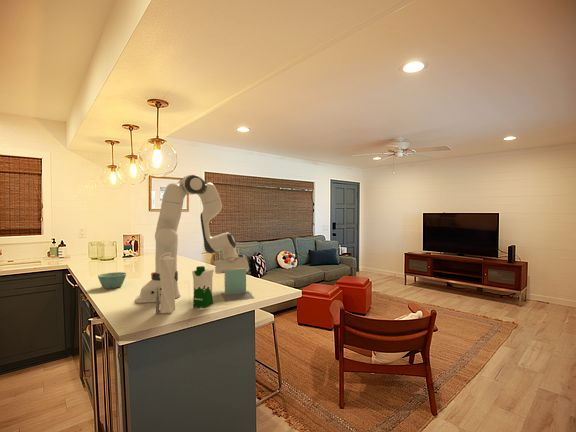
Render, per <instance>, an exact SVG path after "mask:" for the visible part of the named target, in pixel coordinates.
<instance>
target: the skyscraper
mask: <svg viewBox="0 0 576 432" xmlns="http://www.w3.org/2000/svg"><path fill="white" fill-rule="evenodd" d="M165 254H170V256H171V253H165ZM165 254H163V255H165ZM163 255H162V256H163ZM162 256H161V257H162ZM170 256H166V257H164V258H162V259H161V257H160V261H159V268H160V281H161V286H162V289H161V302H159V296H158V287H157V297H156V302H155V313H154V315H155V316H157V315H159V316H160V315H171V314H173V312H174V311H175V310H176V303H175V302H176V300H175V299H176V298H175V296H174V287H173V283H174V278H175V257H170Z"/></svg>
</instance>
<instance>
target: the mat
mask: <svg viewBox="0 0 576 432" xmlns="http://www.w3.org/2000/svg"><path fill="white" fill-rule="evenodd" d="M220 295H221V297H222V298H223V301H224V302H233V301H236V302H237V301H243V300H245V301H246V300H251V299H256V298H255V296H253V295H252V293H251V292H250V291H249V290H246V293H240V294H229V295H225V292H224V293H220Z"/></svg>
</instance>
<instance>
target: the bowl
mask: <svg viewBox="0 0 576 432" xmlns="http://www.w3.org/2000/svg"><path fill="white" fill-rule="evenodd" d="M97 277H98V281H99V283H100V285H101V288H104V289H106V290H111V289H112V290H113V289H118V288H120V287H122V285H123V284H124V283H125V279H126V277H127V272H123V271H122V272H119V271H117V272H107V273H101V274H98V275H97Z"/></svg>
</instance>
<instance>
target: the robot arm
mask: <svg viewBox="0 0 576 432" xmlns="http://www.w3.org/2000/svg"><path fill="white" fill-rule="evenodd" d="M187 195H193V196H194V195H197V196H198V197H199V198H200V202H201V204H202V212H201V213H200V218H199V219H200V225H201V232H202V237H203V247H204V250H205V252H206V253H209V254H210V255H212V254H215V253H218V252H219V251H222V257H223V259H215V260H214V261H213V265H214V272H215V274H216V275H218V274H220V275H221V274H224V269H237V268H246V273H247V272H248V271H249V270H250V266H249V262H248V260H247V259H246V255H245V254H242V253H237V247H236V245H237V244H236V237H235V236H234V235H233V234H232V233H231V232H229V231H227V232H223V233H220V234H217V235H214V236H213V235H211V232H210V224H209V223H210V221H211V220H212V219H214V218H215V217H216V216H218V215H219V213H220V212H221V211H222V209H223V204H222V199H221V196H220V194H219V191H218V189H217V188H216V185H215V184H213V183H212V182H206V181H205V180H204V179H203V178H202V177H201V176H200V175H197V174H190V175H189V174H188V175H186V176H184V177H182V178H180V180H179V181H177V183H175V182H173V183H169V184H168V185H166V188H165V190H164V193H163V196H162V200H161V205H160V211H159V213H158V214H159V215H158V219H157V222H156V223H157V224H156V229H155V233H154V240H155V255H154V256H155V261H154V262H155V272H154V271H152V272H151V274H150V275H151V276H150V277H151V279H150V280H149V281H148V282H147V283H145V284H144V285H143V286H141V289H140V293H139V295H137V296H136V297H135V303H138V304H141V303H146V304H147V303H156V297H157V287H158V296H159V303H161V289H162V286H161V281H160V268H159V261H160V257H161V256H162V255H163V254H165V253H171V256H170V254H165V255H163V256H162V257H161V259H162V258H164V257H166V256H170V257H175V278H174V283H173V287H174V296H175V299H177V298H180V296H181V294H180V291H179V286H178V285H179V284H178V281H179V272H178V264H177V263H178V261H177V260H178V241H179V238H178V227H179V224H180V220H181V216H182V210H183V204H184V199H185V197H186V196H187Z"/></svg>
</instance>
